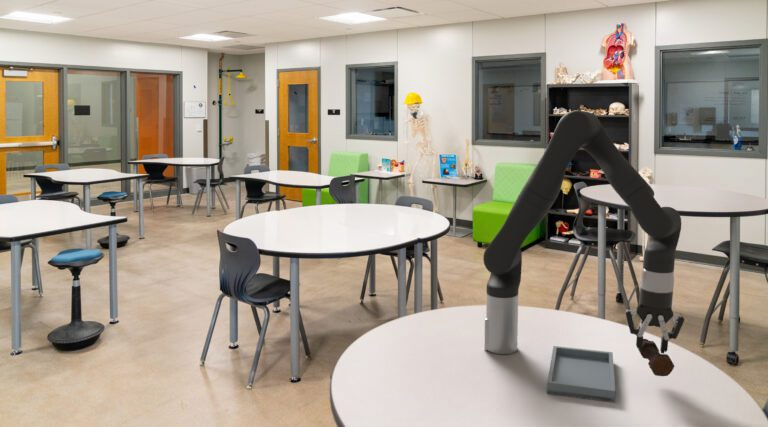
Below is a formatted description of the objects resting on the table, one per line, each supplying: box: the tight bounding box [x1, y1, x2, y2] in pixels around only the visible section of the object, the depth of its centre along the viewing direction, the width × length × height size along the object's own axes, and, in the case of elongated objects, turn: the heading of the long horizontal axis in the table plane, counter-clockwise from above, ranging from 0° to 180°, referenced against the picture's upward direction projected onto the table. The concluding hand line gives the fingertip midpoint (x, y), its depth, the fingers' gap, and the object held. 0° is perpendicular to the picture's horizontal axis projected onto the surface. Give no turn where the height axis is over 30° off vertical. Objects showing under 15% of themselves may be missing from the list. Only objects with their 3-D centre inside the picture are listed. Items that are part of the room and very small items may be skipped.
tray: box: [546, 345, 616, 403], centre depth 159 cm, size 16×24×3 cm, turn 161°
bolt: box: [637, 338, 675, 377], centre depth 152 cm, size 6×5×15 cm
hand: (651, 350), depth 152 cm, fingers closed on bolt, 4 cm apart
